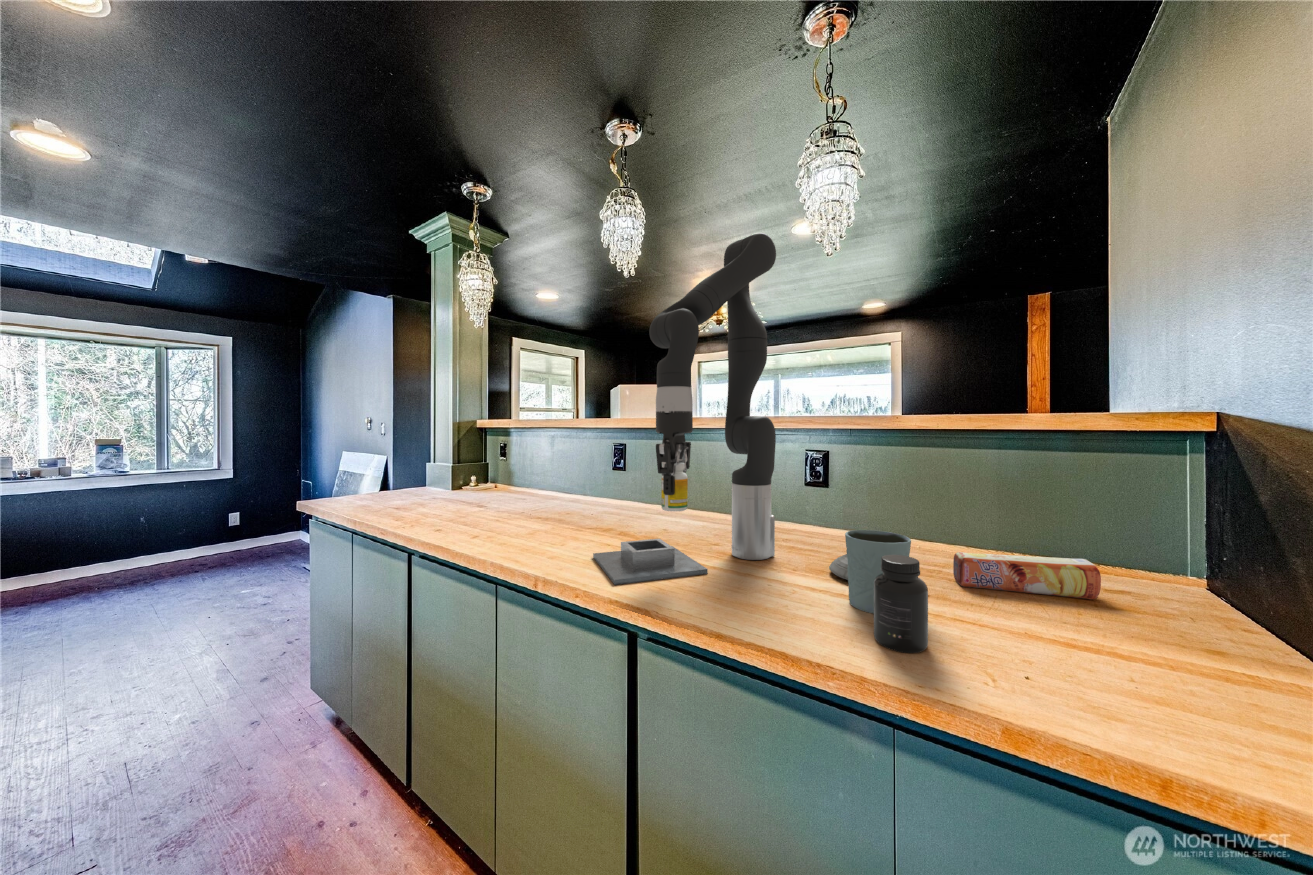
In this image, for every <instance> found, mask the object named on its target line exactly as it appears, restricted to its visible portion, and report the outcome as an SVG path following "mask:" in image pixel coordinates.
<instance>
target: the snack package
mask: <svg viewBox="0 0 1313 875" xmlns="http://www.w3.org/2000/svg"><path fill="white" fill-rule="evenodd" d="M952 565H953V567H952V569H953V570H952V574H953V578H954V580H955V582H956V583H957V584H959V585H960V586H961V587H963V588H977V589H986V590H987V589H989V590H997V591H998V590H999V591H1006V592H1017V593H1026V594H1035V595H1046V596H1047V595H1048V596H1057V597H1068V598H1077V599H1084V600H1096V599H1097V598H1098V597H1099V596H1100V592H1101V586H1102V576H1101V572H1100V569H1099V568H1098V567H1097V566H1096V565H1095V564H1094V563H1092V562H1091V561H1089V560H1088V559H1086V558H1067V557H1065V558H1064V557H1055V556H1054V557H1047V556H1030V555H1029V556H1028V555H1026V556H1025V555H1009V554H995V553H994V554H993V553H974V552H961V551H957V552H956V553H955V554H954V555H953V562H952Z"/></svg>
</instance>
